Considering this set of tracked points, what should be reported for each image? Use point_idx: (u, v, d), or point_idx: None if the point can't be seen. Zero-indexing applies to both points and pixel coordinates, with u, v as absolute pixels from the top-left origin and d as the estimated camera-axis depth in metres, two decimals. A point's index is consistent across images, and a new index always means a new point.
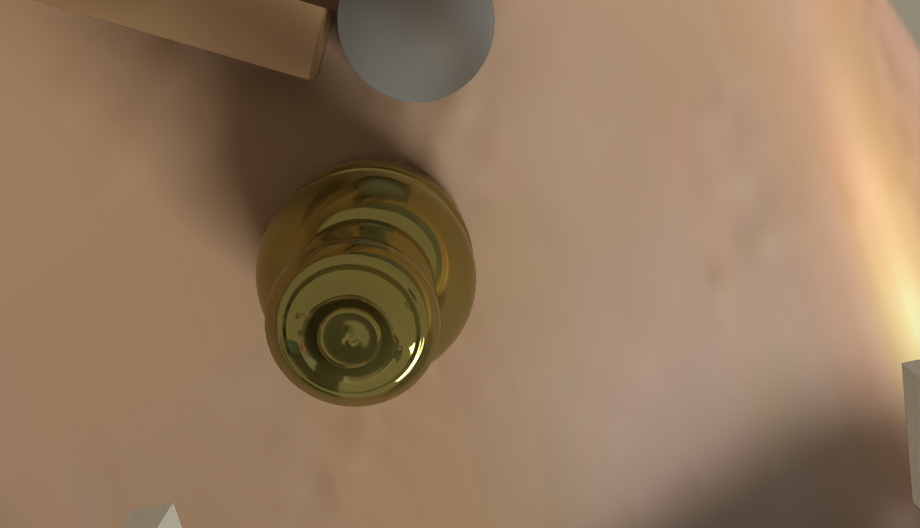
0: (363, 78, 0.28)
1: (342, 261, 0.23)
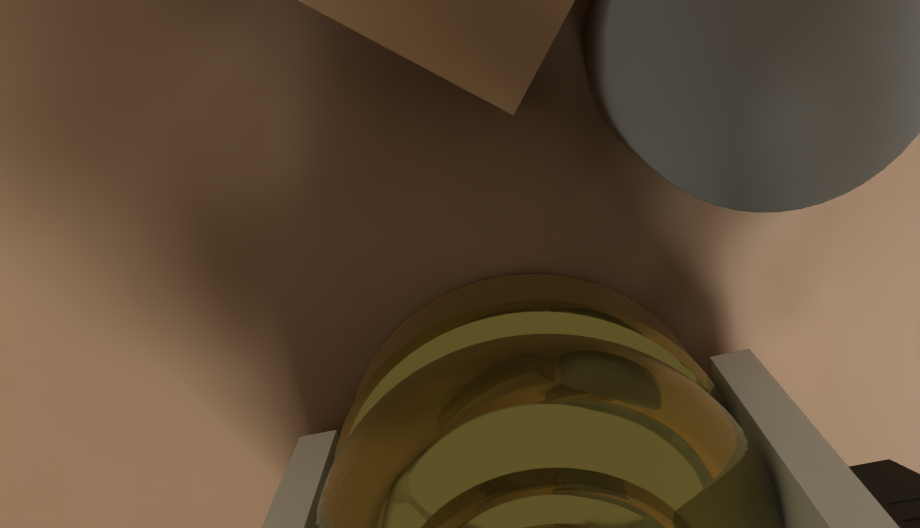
0: (633, 137, 0.13)
1: None
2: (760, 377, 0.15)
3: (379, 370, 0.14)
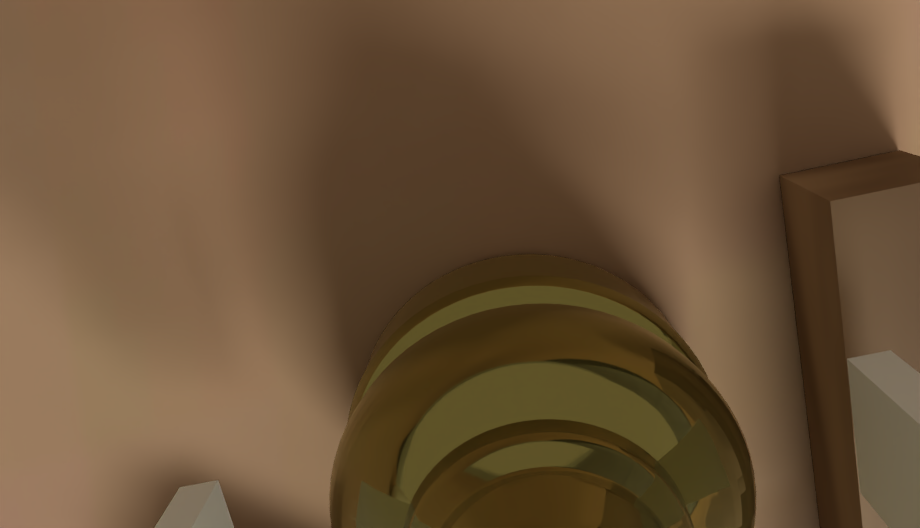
0: None
1: None
2: (914, 381, 0.13)
3: (389, 340, 0.16)
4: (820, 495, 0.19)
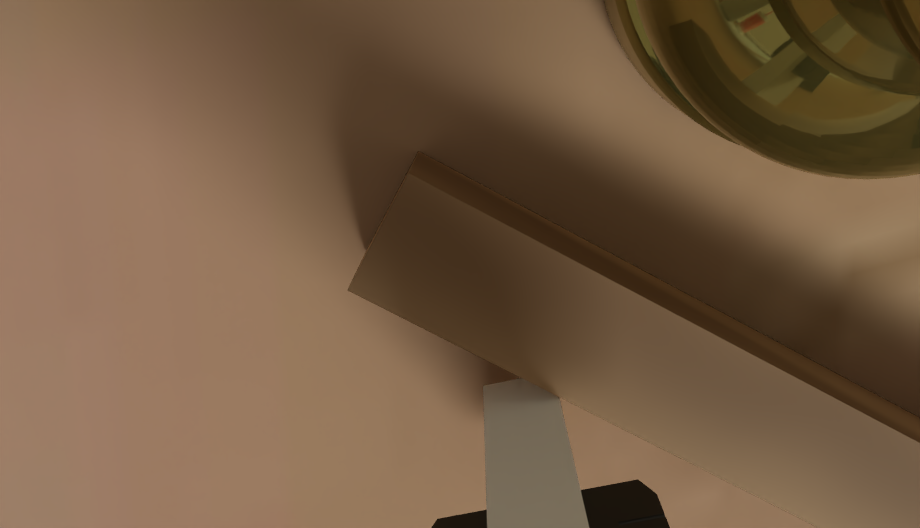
0: None
1: None
2: (548, 400, 0.16)
3: None
4: None
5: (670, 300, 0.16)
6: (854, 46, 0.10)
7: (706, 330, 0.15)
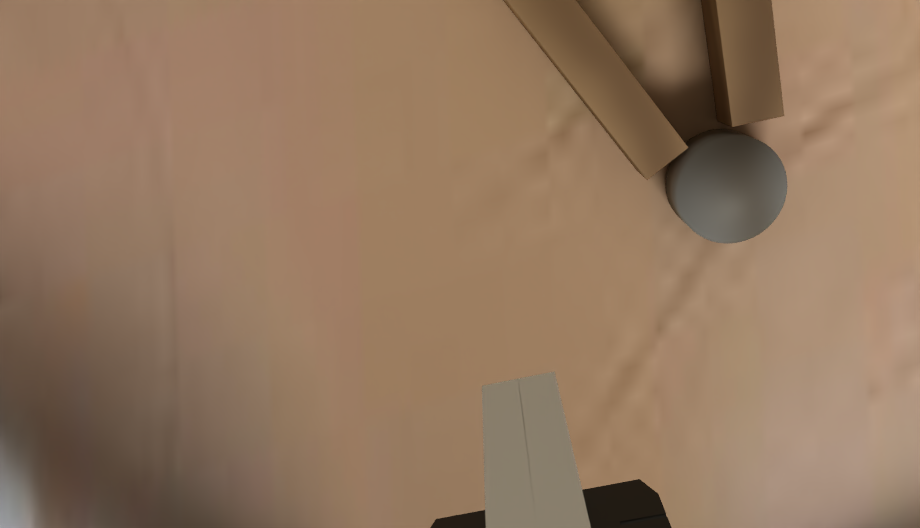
0: (685, 219, 0.40)
1: None
2: (549, 400, 0.16)
3: None
4: None
5: None
6: None
7: (584, 12, 0.38)
